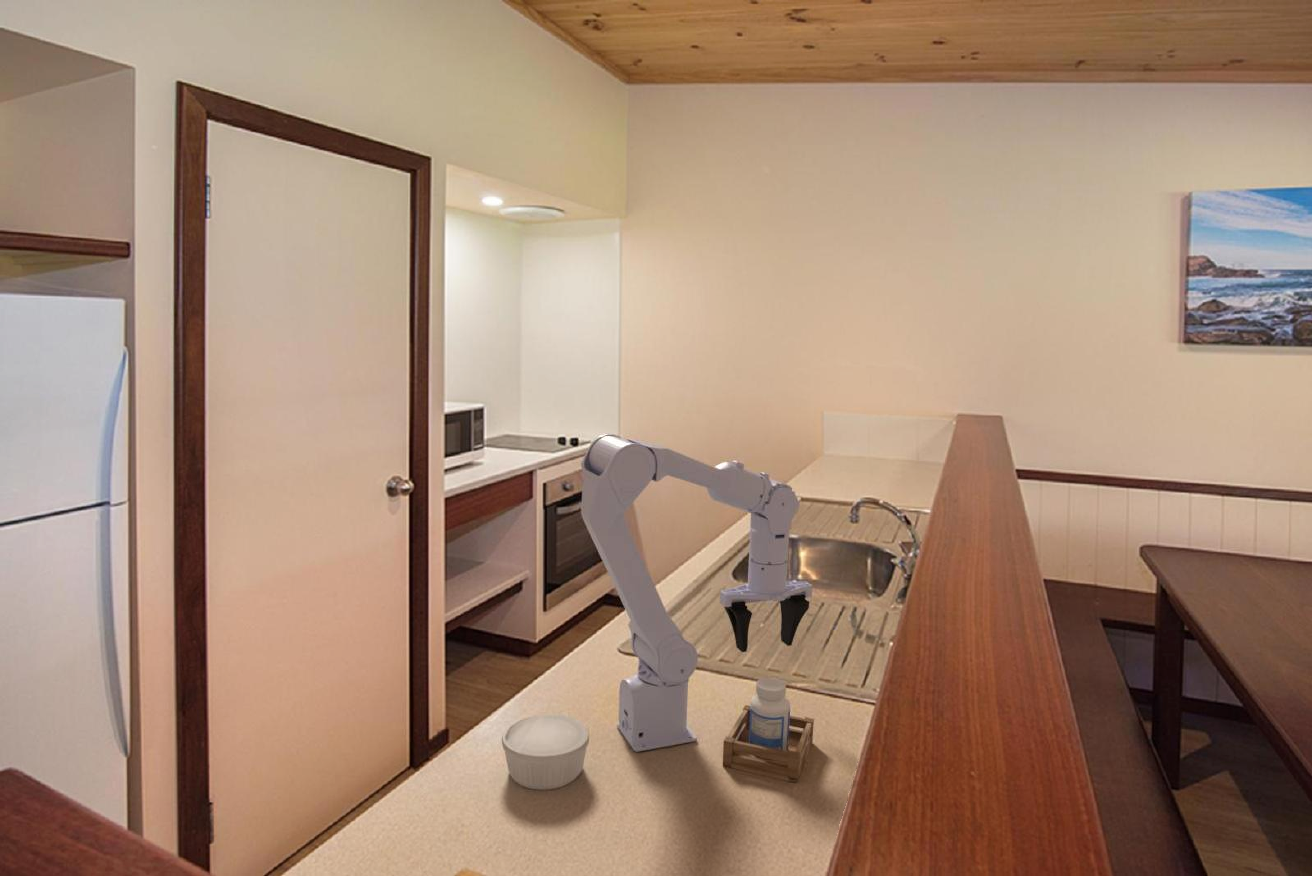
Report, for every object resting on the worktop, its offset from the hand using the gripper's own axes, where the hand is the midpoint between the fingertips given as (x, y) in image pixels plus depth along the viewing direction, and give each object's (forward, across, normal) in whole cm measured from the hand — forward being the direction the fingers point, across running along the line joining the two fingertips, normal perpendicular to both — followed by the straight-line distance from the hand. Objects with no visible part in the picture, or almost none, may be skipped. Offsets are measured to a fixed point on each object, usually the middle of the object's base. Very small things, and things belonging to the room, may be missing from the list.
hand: (764, 646), depth 122 cm
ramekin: (+11, -35, -6) cm, 37 cm away
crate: (+10, -5, -11) cm, 16 cm away
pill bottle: (+10, -5, -11) cm, 16 cm away
